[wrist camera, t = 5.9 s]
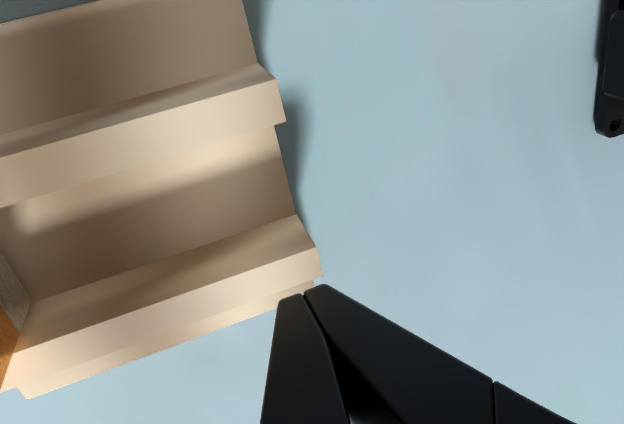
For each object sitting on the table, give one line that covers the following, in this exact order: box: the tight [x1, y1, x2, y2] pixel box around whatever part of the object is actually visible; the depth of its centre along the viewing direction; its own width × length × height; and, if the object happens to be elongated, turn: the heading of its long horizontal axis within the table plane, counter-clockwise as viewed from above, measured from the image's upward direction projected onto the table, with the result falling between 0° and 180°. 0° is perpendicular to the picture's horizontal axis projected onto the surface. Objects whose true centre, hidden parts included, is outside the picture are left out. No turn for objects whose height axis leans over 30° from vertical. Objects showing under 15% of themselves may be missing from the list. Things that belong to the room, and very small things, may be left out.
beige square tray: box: [0, 0, 323, 400], centre depth 12 cm, size 10×10×3 cm
